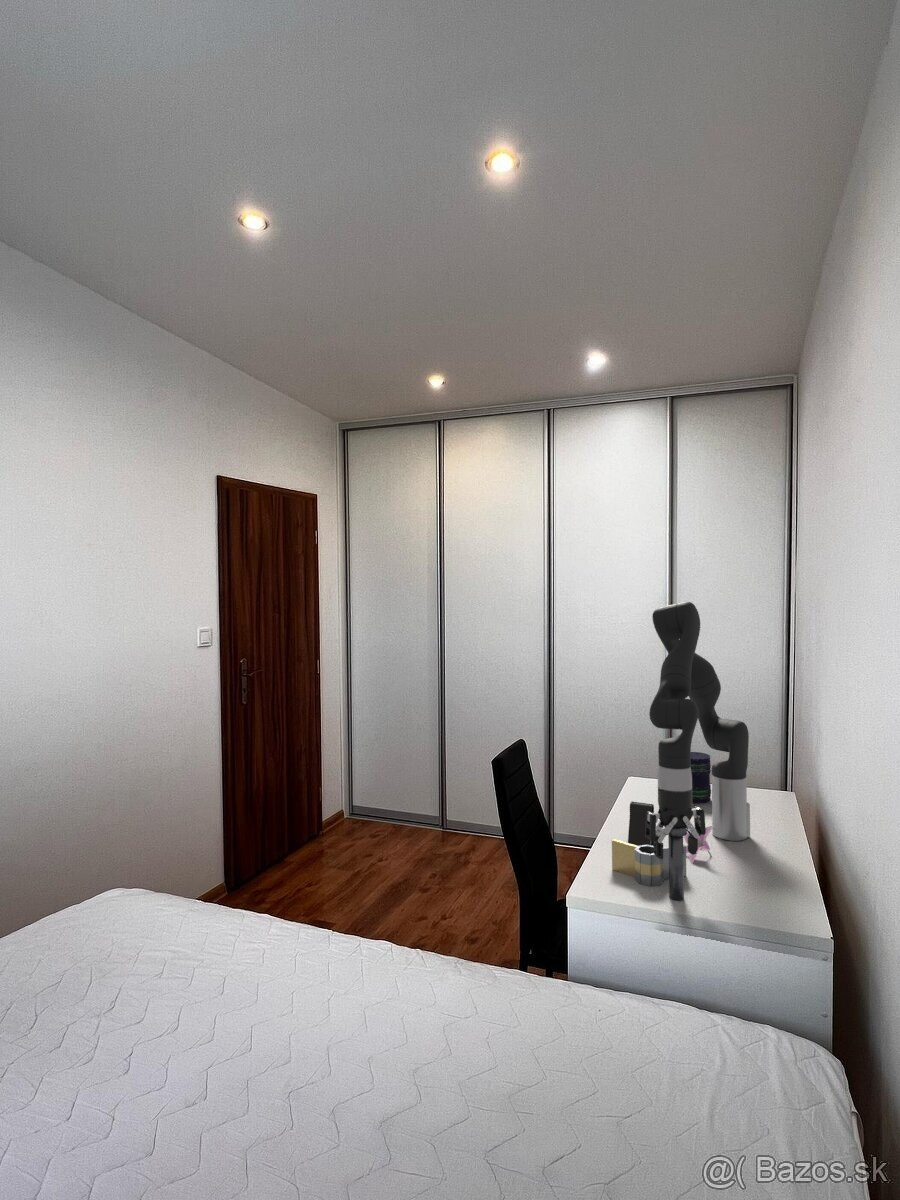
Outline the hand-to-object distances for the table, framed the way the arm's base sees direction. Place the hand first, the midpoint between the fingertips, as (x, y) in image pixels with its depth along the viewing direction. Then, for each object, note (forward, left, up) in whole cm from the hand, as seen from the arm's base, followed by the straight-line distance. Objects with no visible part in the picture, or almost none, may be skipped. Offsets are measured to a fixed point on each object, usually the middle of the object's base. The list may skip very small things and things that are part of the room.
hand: (675, 855), depth 155 cm
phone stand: (-9, -30, -10) cm, 33 cm away
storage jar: (-48, -62, -10) cm, 79 cm away
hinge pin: (0, 0, -10) cm, 10 cm away
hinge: (-1, -13, -10) cm, 16 cm away
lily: (-19, -19, -10) cm, 28 cm away
